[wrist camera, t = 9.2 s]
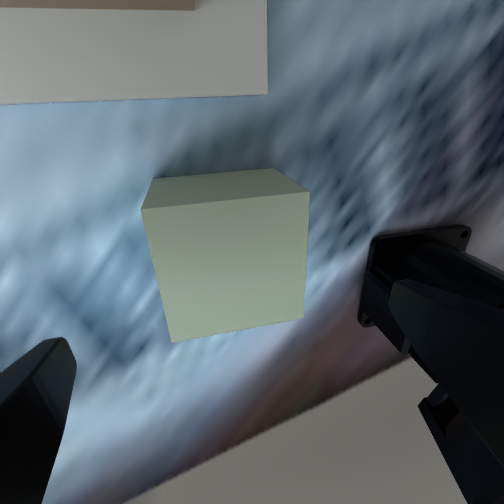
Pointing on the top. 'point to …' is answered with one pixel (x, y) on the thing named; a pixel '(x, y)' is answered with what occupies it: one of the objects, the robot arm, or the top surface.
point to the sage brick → (228, 250)
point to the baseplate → (131, 50)
